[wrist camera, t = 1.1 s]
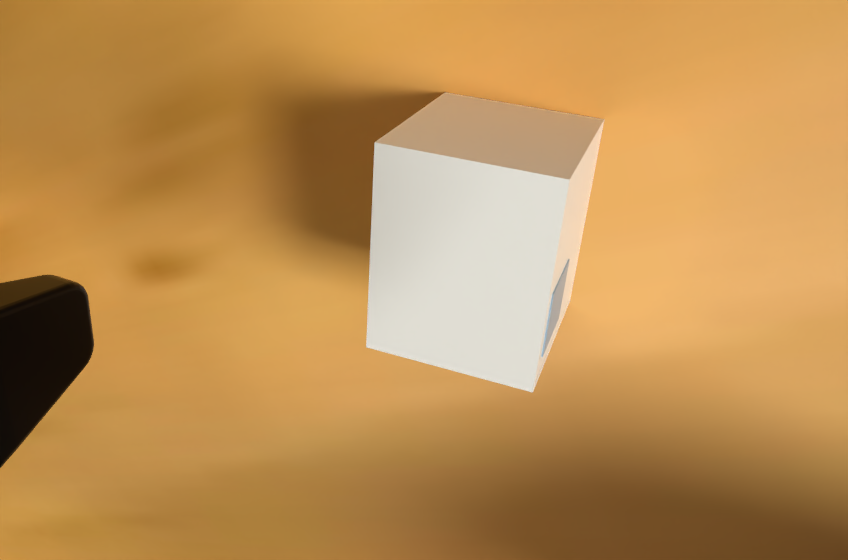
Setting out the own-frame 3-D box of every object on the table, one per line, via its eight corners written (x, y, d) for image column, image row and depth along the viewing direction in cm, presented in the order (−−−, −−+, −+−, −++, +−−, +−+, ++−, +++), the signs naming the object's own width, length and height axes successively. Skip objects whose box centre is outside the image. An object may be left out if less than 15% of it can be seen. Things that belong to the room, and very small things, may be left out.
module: (571, 299, 20) (533, 392, 17) (429, 266, 22) (365, 346, 18) (606, 118, 18) (571, 180, 14) (445, 91, 19) (373, 142, 15)
